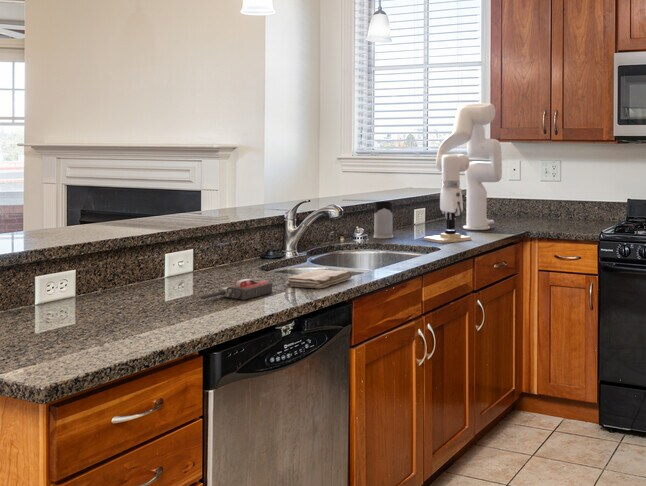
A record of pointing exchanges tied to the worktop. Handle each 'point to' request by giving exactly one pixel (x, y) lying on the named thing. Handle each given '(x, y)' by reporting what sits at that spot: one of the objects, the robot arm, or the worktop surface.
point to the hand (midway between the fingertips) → (450, 228)
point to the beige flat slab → (447, 238)
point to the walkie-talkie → (244, 289)
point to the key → (450, 231)
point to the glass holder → (383, 220)
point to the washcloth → (318, 278)
